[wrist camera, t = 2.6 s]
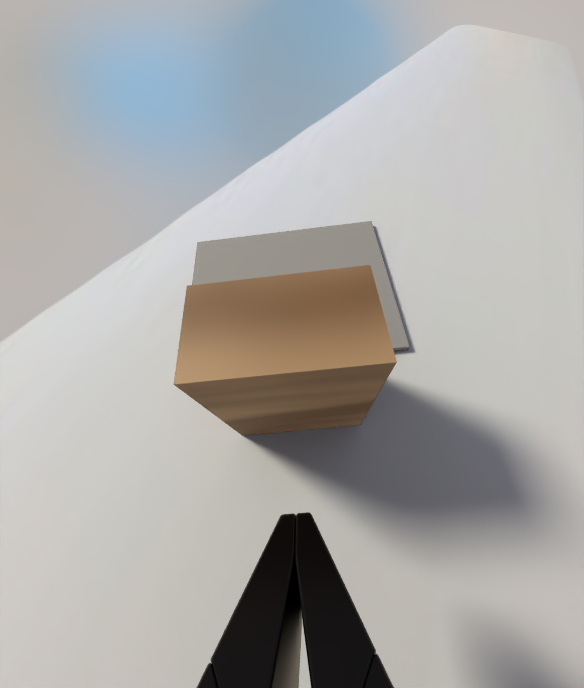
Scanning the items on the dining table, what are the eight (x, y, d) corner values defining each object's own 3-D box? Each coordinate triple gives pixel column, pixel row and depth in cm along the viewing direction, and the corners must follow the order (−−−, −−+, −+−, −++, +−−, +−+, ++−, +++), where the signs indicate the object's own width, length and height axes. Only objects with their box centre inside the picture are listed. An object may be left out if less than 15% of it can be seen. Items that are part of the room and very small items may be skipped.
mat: (407, 349, 18) (409, 346, 18) (184, 372, 19) (181, 369, 19) (370, 225, 24) (371, 221, 24) (199, 245, 25) (197, 242, 24)
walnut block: (359, 425, 17) (396, 362, 9) (242, 435, 17) (173, 384, 9) (348, 362, 18) (370, 264, 11) (243, 373, 19) (187, 285, 11)
